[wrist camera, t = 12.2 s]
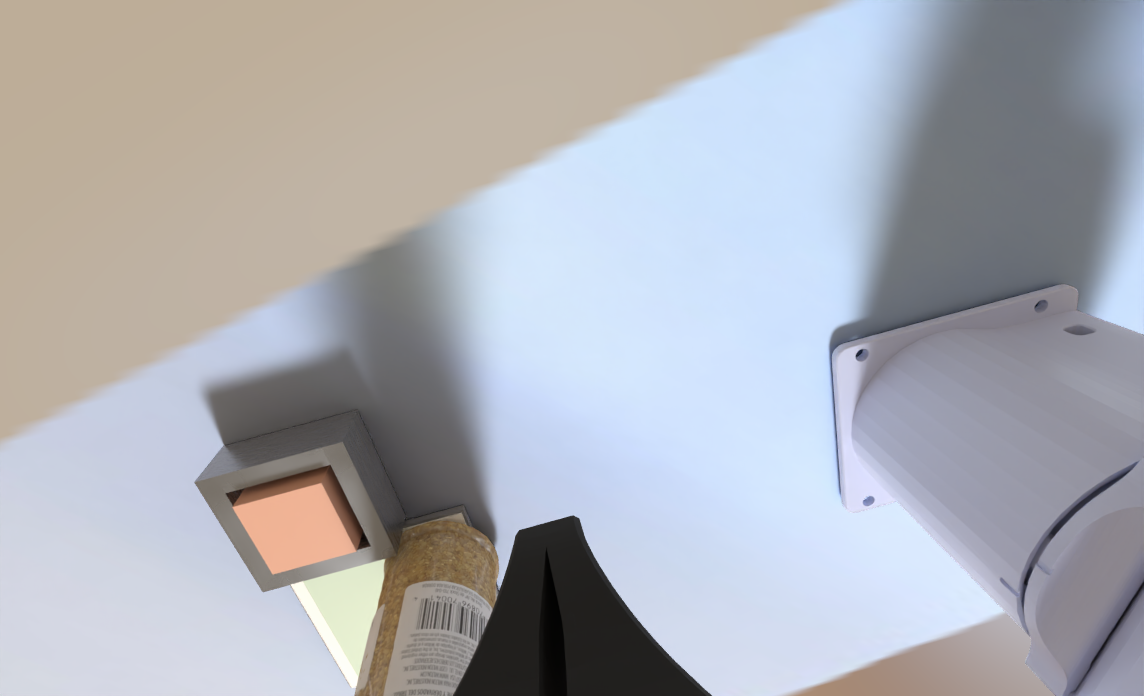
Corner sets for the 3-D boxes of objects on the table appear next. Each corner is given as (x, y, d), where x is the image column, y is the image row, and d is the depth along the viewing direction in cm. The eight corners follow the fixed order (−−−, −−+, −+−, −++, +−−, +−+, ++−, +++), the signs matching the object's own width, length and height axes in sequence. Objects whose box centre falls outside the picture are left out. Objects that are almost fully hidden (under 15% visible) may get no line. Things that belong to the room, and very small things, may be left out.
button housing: (357, 409, 21) (342, 441, 19) (405, 516, 23) (397, 555, 21) (223, 446, 21) (194, 482, 19) (283, 549, 23) (263, 592, 21)
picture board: (463, 504, 23) (462, 511, 23) (516, 636, 26) (516, 644, 26) (278, 555, 23) (274, 563, 23) (352, 681, 26) (350, 689, 26)
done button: (336, 449, 21) (321, 483, 19) (368, 514, 22) (356, 551, 20) (255, 472, 21) (231, 507, 19) (291, 535, 22) (272, 574, 20)
